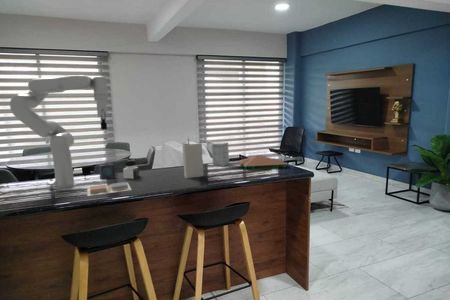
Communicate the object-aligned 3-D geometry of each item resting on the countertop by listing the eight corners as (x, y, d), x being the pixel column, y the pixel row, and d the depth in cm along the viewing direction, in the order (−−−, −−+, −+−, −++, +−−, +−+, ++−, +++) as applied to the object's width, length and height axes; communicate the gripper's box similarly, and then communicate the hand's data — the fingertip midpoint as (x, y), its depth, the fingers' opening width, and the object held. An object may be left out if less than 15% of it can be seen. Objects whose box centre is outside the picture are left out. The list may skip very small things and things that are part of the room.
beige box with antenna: (203, 176, 195) (202, 137, 191) (186, 178, 190) (184, 138, 186) (200, 174, 202) (198, 136, 198) (183, 176, 197) (181, 137, 194)
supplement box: (229, 164, 230) (228, 142, 228) (223, 166, 223) (222, 144, 220) (219, 163, 235) (218, 142, 233) (212, 165, 228) (211, 143, 225)
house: (236, 164, 229) (235, 154, 228) (278, 162, 232) (278, 152, 231) (240, 171, 207) (240, 159, 206) (287, 168, 210) (287, 157, 208)
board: (87, 197, 155) (87, 196, 154) (87, 189, 171) (87, 187, 171) (131, 191, 163) (131, 189, 163) (127, 184, 180) (127, 182, 180)
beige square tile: (111, 187, 170) (112, 190, 163) (111, 183, 170) (112, 187, 163) (126, 185, 173) (127, 188, 166) (125, 181, 173) (127, 185, 166)
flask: (99, 179, 194) (98, 163, 193) (100, 178, 197) (98, 162, 196) (115, 177, 197) (113, 161, 196) (115, 177, 200) (113, 161, 199)
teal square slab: (90, 190, 166) (90, 193, 159) (89, 186, 165) (90, 190, 158) (105, 187, 169) (106, 191, 162) (105, 184, 169) (106, 187, 161)
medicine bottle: (134, 180, 190) (132, 161, 188) (123, 179, 191) (122, 161, 189) (139, 177, 197) (138, 159, 195) (129, 177, 198) (127, 159, 196)
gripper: (94, 98, 180) (96, 129, 183) (94, 97, 167) (97, 130, 170) (107, 98, 184) (110, 128, 186) (108, 97, 170) (111, 129, 173)
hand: (104, 129), depth 178 cm, fingers closed
